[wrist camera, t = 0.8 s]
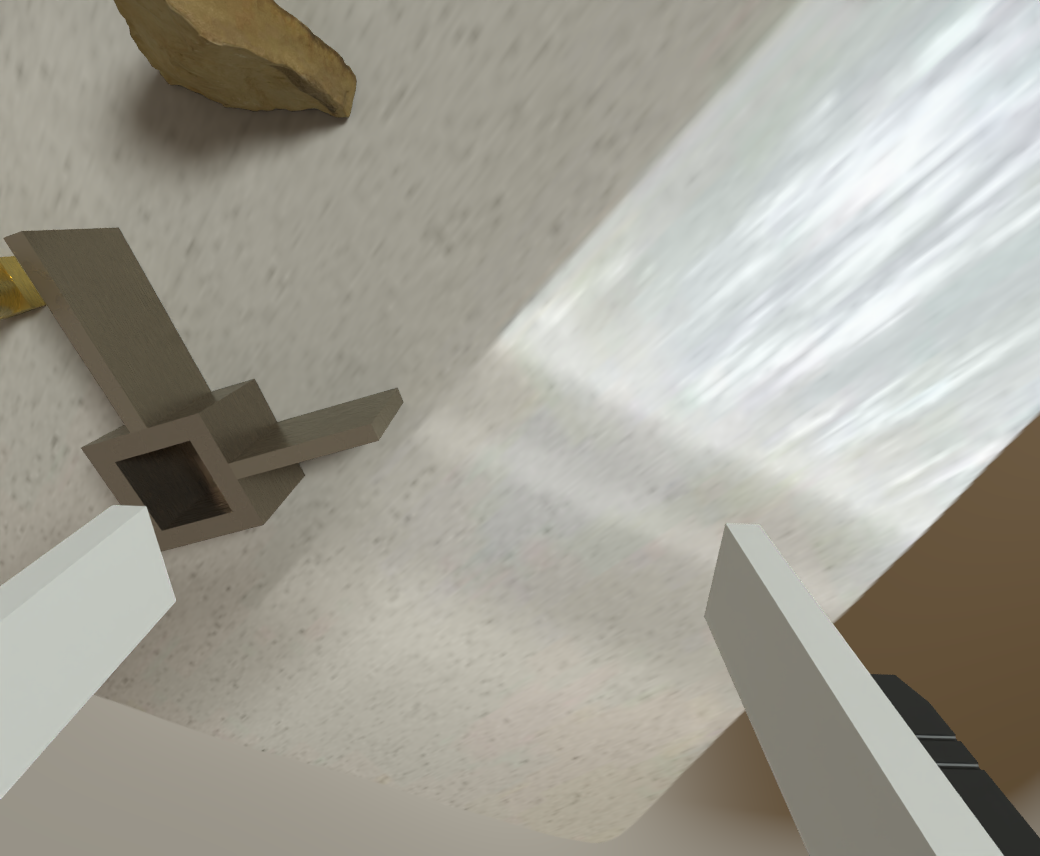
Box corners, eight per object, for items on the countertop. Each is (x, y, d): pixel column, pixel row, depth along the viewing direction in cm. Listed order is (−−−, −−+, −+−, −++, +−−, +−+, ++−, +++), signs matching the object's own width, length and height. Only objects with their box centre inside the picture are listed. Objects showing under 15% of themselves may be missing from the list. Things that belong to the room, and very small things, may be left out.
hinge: (56, 249, 34) (-53, 257, 28) (304, 161, 32) (249, 149, 25) (211, 500, 42) (154, 553, 35) (420, 444, 40) (400, 489, 33)
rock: (394, 39, 27) (220, -148, 24) (305, 110, 23) (72, -105, 19) (330, 165, 36) (194, 42, 32) (256, 236, 31) (86, 103, 27)
